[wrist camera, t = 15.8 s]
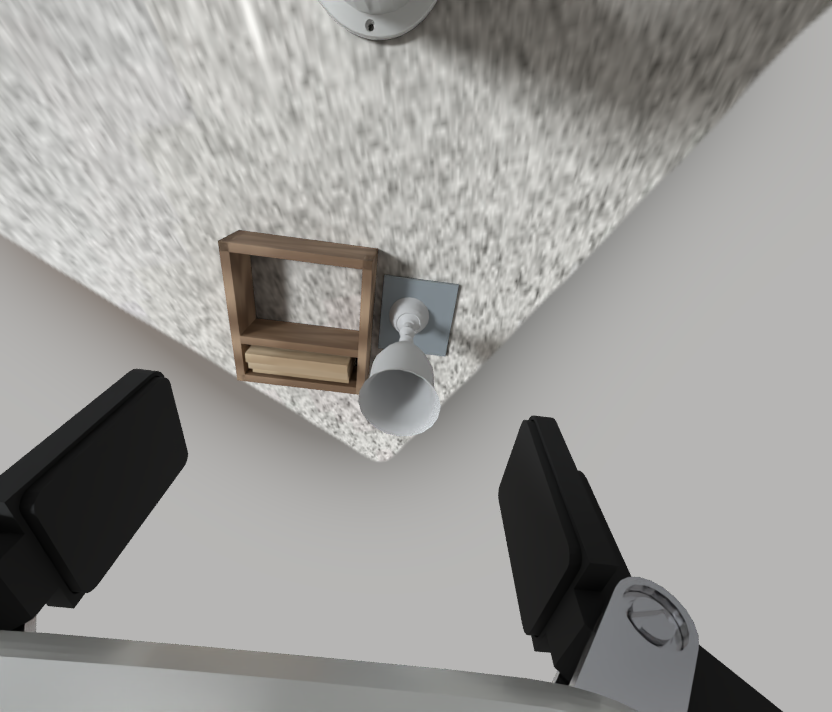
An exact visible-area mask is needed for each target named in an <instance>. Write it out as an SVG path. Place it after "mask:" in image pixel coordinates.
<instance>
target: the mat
mask: <svg viewBox="0 0 832 712" xmlns="http://www.w3.org/2000/svg"><path fill="white" fill-rule="evenodd" d="M458 287H459V284H452V283H444V282H437V281H429V280H421V279H414V278H406V277H398V276H391V275H384V285H383V297H382V308H381V320H380V332H379V344H378V348H381V349H385V348H386V347H388V346H389V345H391V344H393V343H396V342H399V339H400V333H399V332H398V331H397V330H396V329H395V328H394V327H393V326H392V324H391V322H390V318H389V312H390V309H391V307H392V305H393V304H394V303H395V302H396V301H397V300H399V299H402V298H407V297H411V298H416V299H418V300H420V301H421V302H423V304H424V305H425V306H426V307H427V309H428V311H429V320H428V324H427V325H426V327H425V328H424V329H423V330H421V331H420V332H419V333H417V334H415V336H414V338H413V342H414V343H413V344H414V345H416V346H417V347H419V348H420V349H421V350H422V352H423V353H424V354H430V355H438V356H445V355H446V350H447V344H448V339H449V334H450V329H451V324H452V318H453V313H454V308H455V303H456V298H457V292H458Z"/></svg>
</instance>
